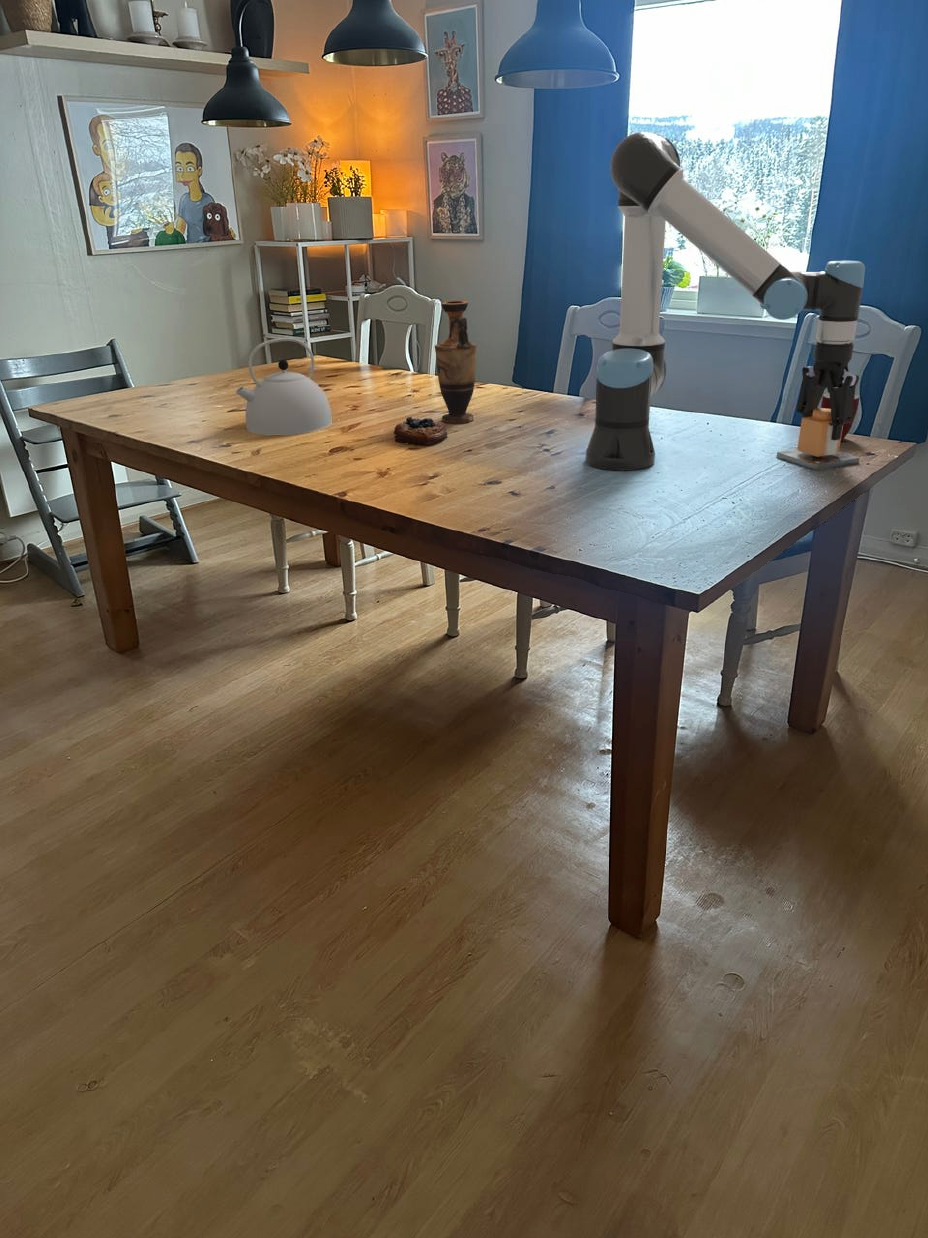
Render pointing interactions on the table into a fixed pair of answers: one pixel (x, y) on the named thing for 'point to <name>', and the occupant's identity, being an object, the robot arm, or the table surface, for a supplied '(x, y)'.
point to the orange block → (815, 432)
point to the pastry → (420, 432)
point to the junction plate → (817, 459)
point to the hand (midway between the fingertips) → (818, 450)
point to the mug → (847, 426)
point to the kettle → (285, 401)
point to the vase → (456, 365)
